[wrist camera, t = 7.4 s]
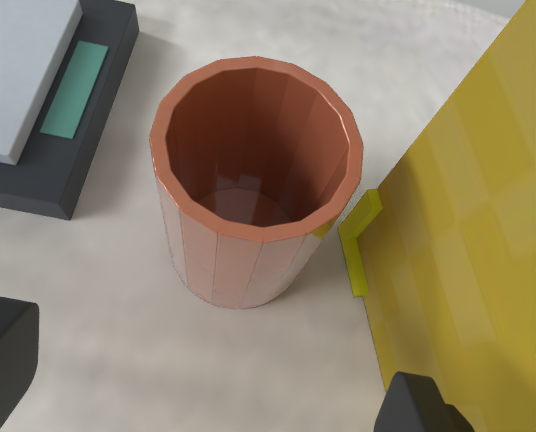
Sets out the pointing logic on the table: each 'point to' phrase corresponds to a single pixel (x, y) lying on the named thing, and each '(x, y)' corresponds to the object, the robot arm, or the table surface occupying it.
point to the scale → (57, 95)
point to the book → (461, 243)
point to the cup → (251, 175)
